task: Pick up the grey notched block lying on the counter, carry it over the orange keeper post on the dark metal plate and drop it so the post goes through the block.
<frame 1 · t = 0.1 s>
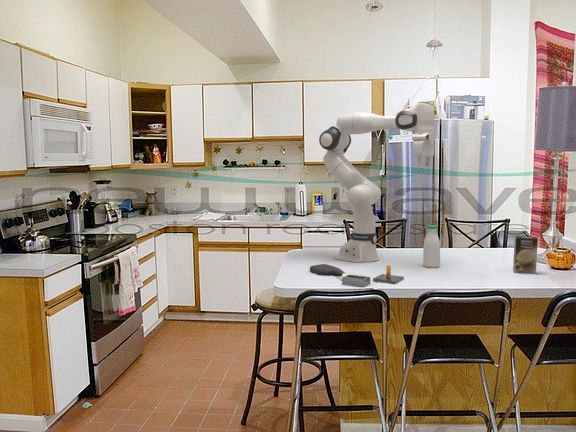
hand: (424, 166, 245), 48 cm above the counter, tool pointing down, fingers open, 8 cm apart
keeper: (388, 280, 221), on the counter
milk bottle: (431, 266, 248), on the counter
drumstick: (332, 276, 234), on the counter
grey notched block: (356, 284, 215), on the counter
coffee box: (524, 272, 233), on the counter
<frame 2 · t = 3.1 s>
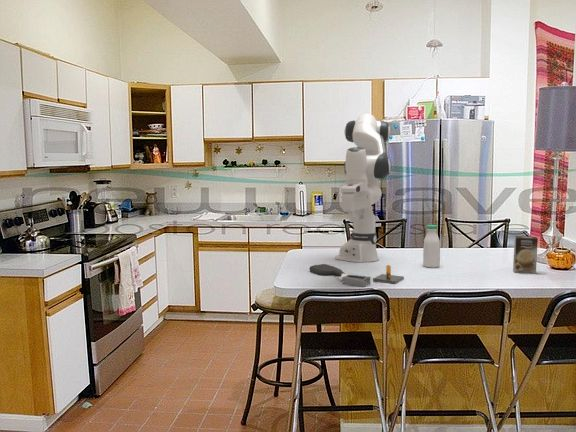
hand: (357, 220, 212), 27 cm above the counter, tool pointing down, fingers open, 8 cm apart
nothing on the counter moved.
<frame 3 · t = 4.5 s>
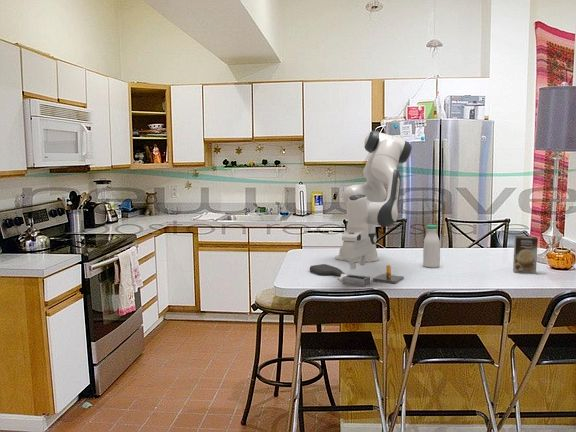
hand: (357, 267, 214), 7 cm above the counter, tool pointing down, fingers open, 8 cm apart
nothing on the counter moved.
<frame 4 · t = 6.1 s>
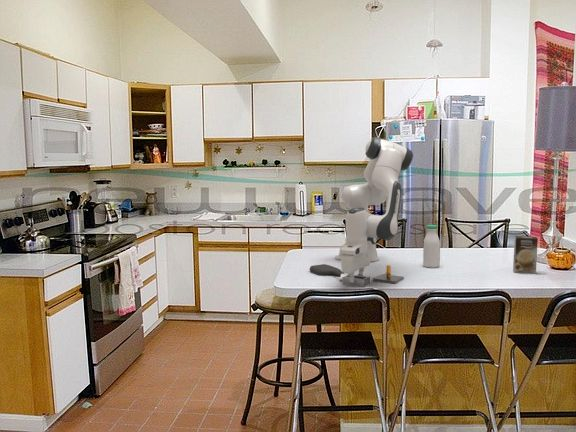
hand: (356, 280, 215), 2 cm above the counter, tool pointing down, fingers closed on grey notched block, 6 cm apart
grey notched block: (356, 284, 215), on the counter, touching gripper
everything else where it was.
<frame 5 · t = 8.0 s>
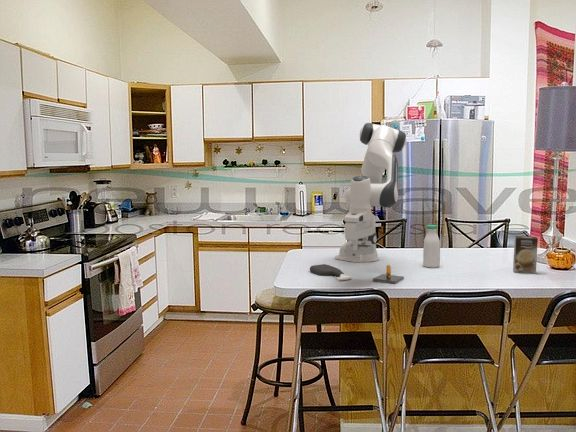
hand: (359, 248, 215), 15 cm above the counter, tool pointing down, fingers closed on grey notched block, 6 cm apart
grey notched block: (359, 252, 215), point 13 cm above the counter, touching gripper
everything else where it was.
when the fingers open (10 cm above the counter, at t = 10.3 s): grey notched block drops 7 cm, resting on keeper.
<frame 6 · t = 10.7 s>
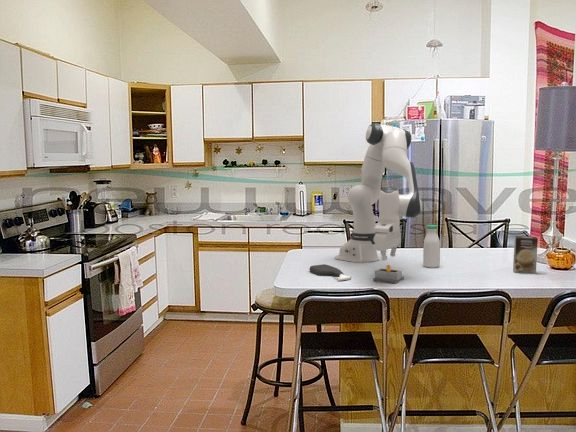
hand: (388, 258, 220), 10 cm above the counter, tool pointing down, fingers open, 8 cm apart
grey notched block: (388, 277, 221), point 1 cm above the counter, touching keeper
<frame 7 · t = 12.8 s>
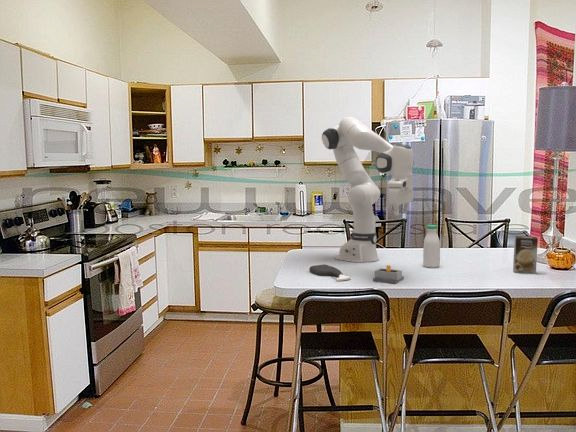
hand: (400, 214, 224), 28 cm above the counter, tool pointing down, fingers open, 8 cm apart
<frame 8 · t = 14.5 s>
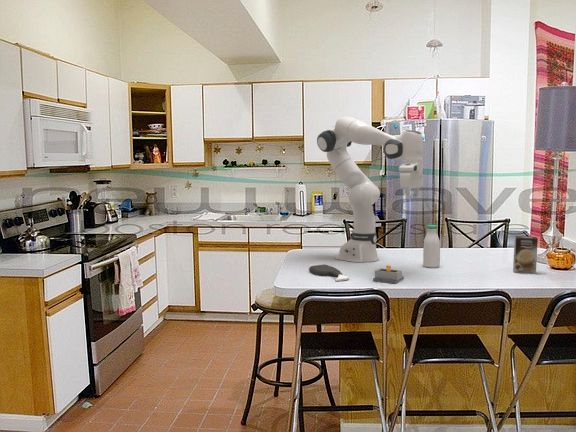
hand: (412, 198, 229), 34 cm above the counter, tool pointing down, fingers open, 8 cm apart
at the end: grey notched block 0.0 cm off-centre on the keeper, point 1.2 cm above the keeper's base; the gripper is holding nothing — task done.
